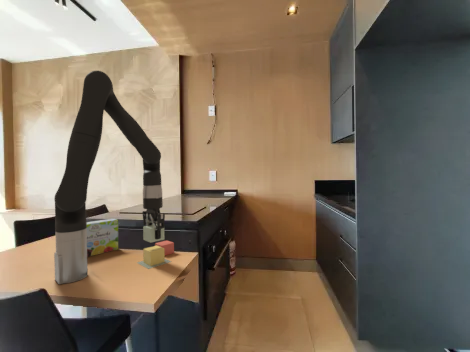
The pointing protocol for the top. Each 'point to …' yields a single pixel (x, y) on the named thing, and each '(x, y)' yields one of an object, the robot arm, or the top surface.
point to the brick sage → (151, 234)
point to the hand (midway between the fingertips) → (153, 237)
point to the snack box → (102, 236)
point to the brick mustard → (153, 255)
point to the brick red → (166, 246)
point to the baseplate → (153, 265)
